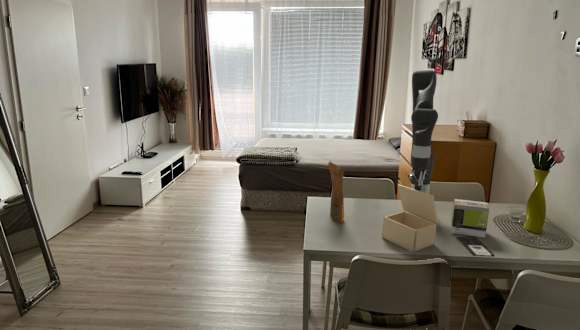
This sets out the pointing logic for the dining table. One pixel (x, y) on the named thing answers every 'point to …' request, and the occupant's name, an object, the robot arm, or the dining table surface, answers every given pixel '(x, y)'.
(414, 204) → the carton flap
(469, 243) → the chocolate bar
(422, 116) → the robot arm
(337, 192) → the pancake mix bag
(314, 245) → the dining table surface
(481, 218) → the tea box
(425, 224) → the carton
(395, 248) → the dining table surface
